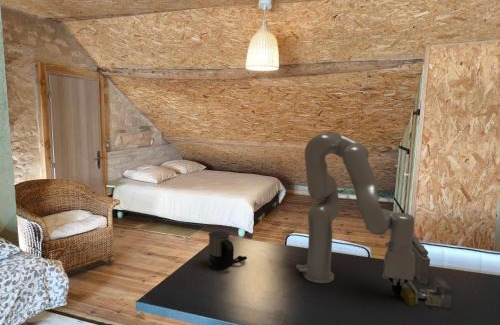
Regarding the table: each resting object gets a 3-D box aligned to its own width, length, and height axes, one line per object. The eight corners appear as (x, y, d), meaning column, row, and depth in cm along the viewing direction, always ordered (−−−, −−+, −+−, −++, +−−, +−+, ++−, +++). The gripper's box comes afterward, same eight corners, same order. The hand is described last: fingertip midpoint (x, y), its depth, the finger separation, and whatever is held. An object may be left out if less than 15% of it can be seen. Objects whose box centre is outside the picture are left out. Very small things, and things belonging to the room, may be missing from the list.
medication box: (395, 289, 130) (395, 279, 130) (402, 289, 130) (402, 279, 130) (408, 306, 118) (408, 296, 118) (416, 306, 118) (416, 296, 118)
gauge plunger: (416, 306, 117) (417, 295, 117) (407, 292, 127) (408, 281, 127) (449, 309, 116) (451, 298, 115) (438, 295, 125) (439, 284, 125)
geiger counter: (434, 252, 132) (416, 231, 156) (417, 250, 133) (401, 230, 157) (430, 285, 134) (413, 259, 158) (413, 283, 135) (399, 258, 159)
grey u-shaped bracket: (427, 306, 118) (429, 288, 117) (419, 293, 127) (420, 276, 126) (450, 308, 117) (452, 290, 116) (439, 295, 126) (441, 277, 125)
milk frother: (204, 267, 146) (204, 234, 144) (225, 255, 159) (226, 225, 157) (230, 275, 138) (230, 241, 136) (250, 262, 151) (251, 231, 149)
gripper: (381, 249, 119) (377, 297, 121) (425, 252, 117) (421, 301, 119) (376, 241, 126) (373, 287, 129) (418, 244, 124) (414, 290, 126)
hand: (396, 293), depth 124 cm, fingers closed
